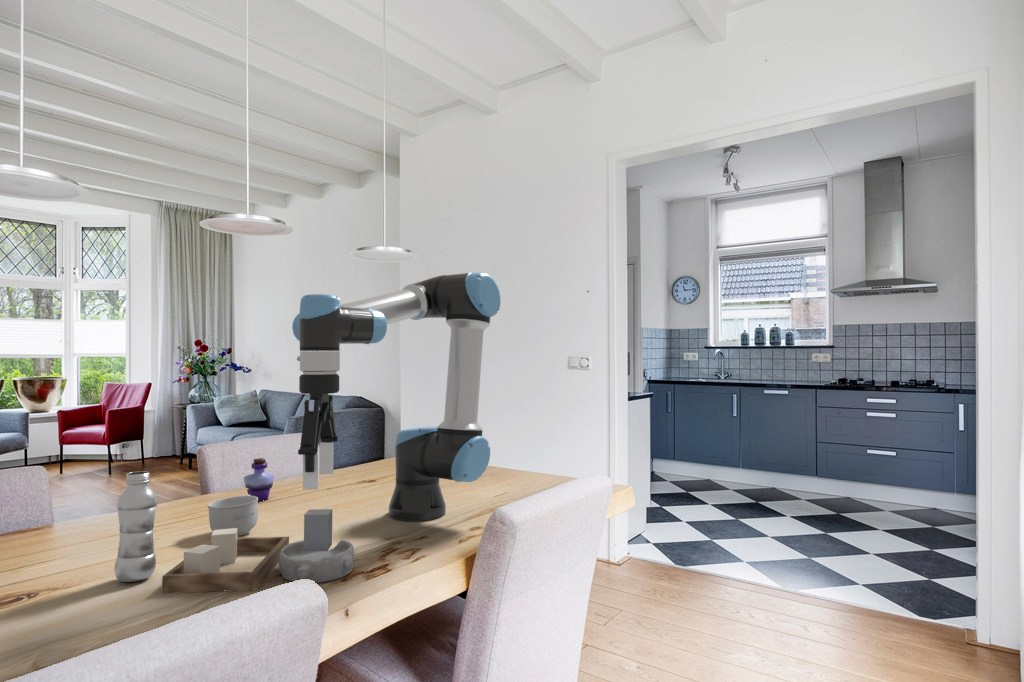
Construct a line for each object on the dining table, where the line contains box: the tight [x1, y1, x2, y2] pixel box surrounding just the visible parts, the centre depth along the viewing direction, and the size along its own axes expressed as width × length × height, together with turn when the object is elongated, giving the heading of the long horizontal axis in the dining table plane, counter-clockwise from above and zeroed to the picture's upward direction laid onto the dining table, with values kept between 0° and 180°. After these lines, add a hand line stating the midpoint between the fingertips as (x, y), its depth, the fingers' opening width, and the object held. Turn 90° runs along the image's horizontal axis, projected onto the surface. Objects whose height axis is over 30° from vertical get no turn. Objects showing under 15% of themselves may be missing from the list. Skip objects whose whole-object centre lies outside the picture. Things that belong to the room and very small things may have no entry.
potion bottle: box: [243, 457, 276, 503], centre depth 173 cm, size 9×9×12 cm
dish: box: [278, 539, 355, 584], centre depth 116 cm, size 14×14×5 cm
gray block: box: [303, 508, 333, 552], centre depth 116 cm, size 4×4×7 cm
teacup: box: [207, 494, 259, 537], centre depth 142 cm, size 14×11×8 cm
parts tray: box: [161, 535, 290, 594], centre depth 117 cm, size 16×22×3 cm
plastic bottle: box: [113, 470, 159, 583], centre depth 111 cm, size 6×7×20 cm
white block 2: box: [210, 528, 238, 565], centre depth 122 cm, size 4×4×6 cm
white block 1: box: [183, 543, 221, 574], centre depth 111 cm, size 4×4×6 cm
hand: (319, 481), depth 116 cm, fingers open, 13 cm apart
